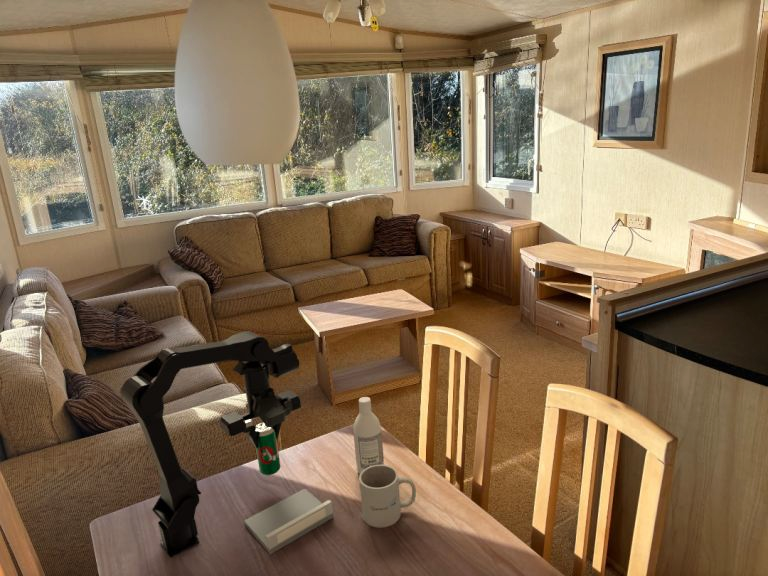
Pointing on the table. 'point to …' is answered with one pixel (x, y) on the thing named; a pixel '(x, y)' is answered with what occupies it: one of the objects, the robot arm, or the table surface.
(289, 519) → the shelf
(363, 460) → the bath foam
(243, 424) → the robot arm
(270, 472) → the soda can
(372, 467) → the mug
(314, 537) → the table surface
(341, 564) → the table surface
